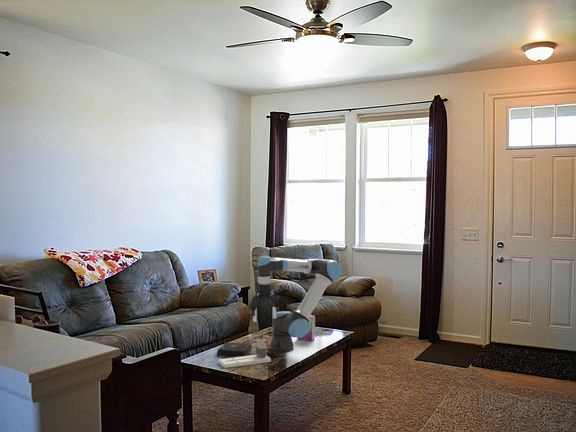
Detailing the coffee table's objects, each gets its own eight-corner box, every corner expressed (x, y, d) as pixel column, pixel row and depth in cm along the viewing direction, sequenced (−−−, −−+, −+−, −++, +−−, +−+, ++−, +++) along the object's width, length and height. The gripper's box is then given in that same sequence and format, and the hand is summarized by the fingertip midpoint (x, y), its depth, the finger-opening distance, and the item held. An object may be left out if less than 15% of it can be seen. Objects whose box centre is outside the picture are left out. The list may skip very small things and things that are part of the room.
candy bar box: (296, 339, 345) (297, 315, 345) (300, 337, 349) (300, 313, 349) (311, 341, 340) (312, 316, 340) (315, 340, 344) (315, 315, 344)
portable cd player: (224, 348, 320) (224, 342, 320) (251, 350, 318) (251, 344, 318) (216, 356, 304) (216, 349, 304) (244, 358, 302) (244, 351, 301)
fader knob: (262, 354, 299) (262, 345, 299) (265, 356, 295) (266, 347, 295) (256, 355, 297) (256, 346, 297) (259, 357, 293) (259, 348, 293)
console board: (263, 357, 302) (263, 353, 302) (270, 361, 294) (271, 357, 294) (218, 363, 289) (218, 359, 289) (224, 368, 281) (224, 364, 281)
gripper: (278, 280, 307) (278, 315, 308) (242, 284, 293) (242, 321, 293) (285, 282, 301) (285, 317, 302) (249, 286, 287) (249, 324, 287)
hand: (264, 319), depth 298 cm, fingers open, 13 cm apart
